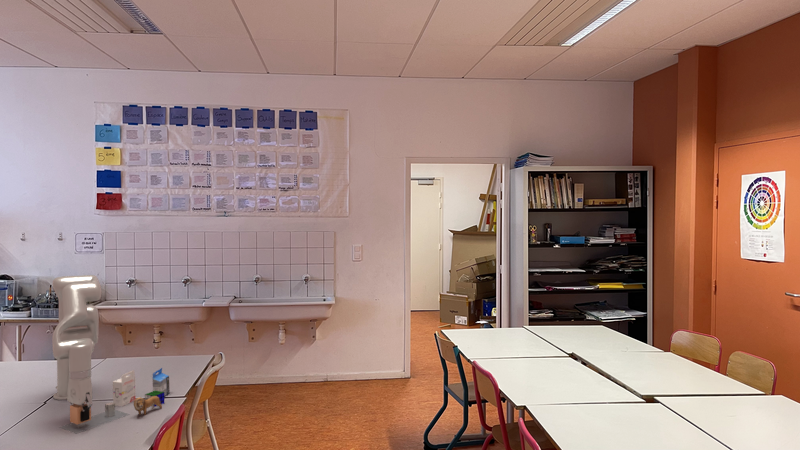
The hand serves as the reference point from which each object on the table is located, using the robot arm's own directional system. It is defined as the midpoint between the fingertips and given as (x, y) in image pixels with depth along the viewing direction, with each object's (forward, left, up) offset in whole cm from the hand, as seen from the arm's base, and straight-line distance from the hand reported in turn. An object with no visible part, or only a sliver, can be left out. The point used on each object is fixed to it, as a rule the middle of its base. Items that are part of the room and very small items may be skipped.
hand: (80, 418), depth 204 cm
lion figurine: (+11, +22, -4) cm, 25 cm away
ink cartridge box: (-9, +24, -4) cm, 26 cm away
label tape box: (-4, +39, -4) cm, 40 cm away
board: (0, +6, -4) cm, 7 cm away
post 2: (0, +12, -3) cm, 12 cm away
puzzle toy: (+4, +30, -4) cm, 31 cm away
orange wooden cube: (0, 0, -1) cm, 1 cm away
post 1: (0, 0, -3) cm, 3 cm away
